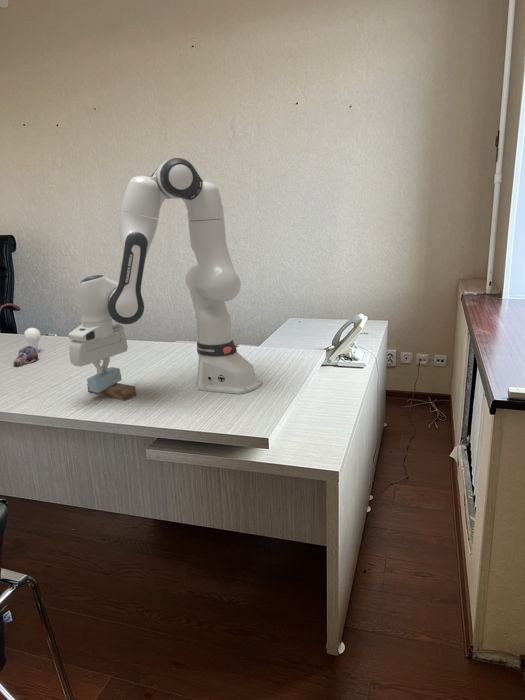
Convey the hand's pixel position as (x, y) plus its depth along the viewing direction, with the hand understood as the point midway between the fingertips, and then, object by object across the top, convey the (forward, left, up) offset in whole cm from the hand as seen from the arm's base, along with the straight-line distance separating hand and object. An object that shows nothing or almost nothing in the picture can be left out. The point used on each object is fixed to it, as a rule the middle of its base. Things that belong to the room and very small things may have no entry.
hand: (102, 372), depth 165 cm
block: (0, +4, -3) cm, 5 cm away
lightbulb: (+65, -23, -8) cm, 69 cm away
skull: (+57, -12, -8) cm, 58 cm away
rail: (-1, -2, -8) cm, 8 cm away
